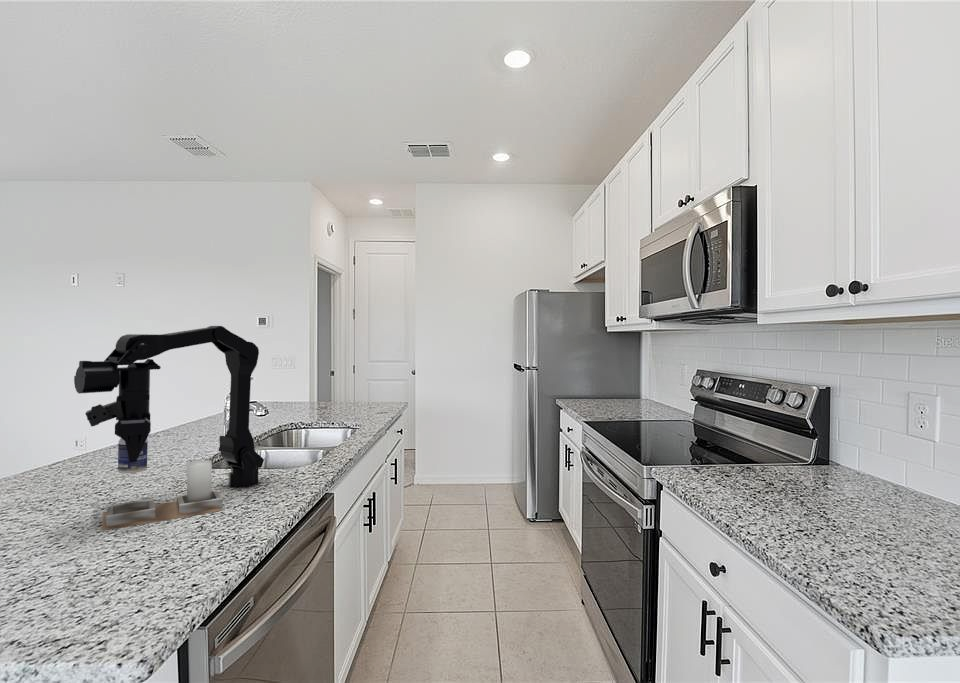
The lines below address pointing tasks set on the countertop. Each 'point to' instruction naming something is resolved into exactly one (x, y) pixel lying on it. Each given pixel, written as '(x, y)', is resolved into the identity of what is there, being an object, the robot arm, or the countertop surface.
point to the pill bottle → (125, 464)
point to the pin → (199, 481)
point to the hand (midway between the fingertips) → (133, 459)
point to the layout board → (157, 511)
